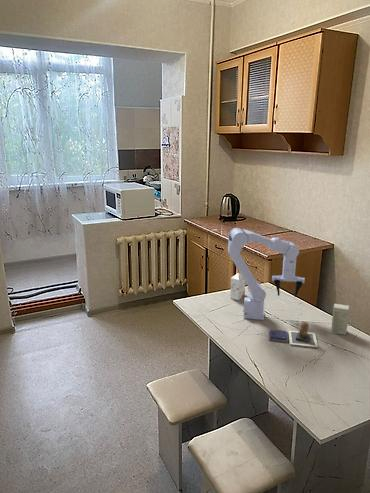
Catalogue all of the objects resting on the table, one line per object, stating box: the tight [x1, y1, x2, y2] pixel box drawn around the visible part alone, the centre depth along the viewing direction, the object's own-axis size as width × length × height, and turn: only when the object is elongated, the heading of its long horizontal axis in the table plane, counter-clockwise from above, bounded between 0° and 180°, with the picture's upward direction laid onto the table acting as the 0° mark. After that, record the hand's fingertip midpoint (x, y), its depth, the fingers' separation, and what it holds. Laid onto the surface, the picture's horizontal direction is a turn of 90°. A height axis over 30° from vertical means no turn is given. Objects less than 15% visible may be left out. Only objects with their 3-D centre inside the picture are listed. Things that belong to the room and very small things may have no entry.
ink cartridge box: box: [230, 272, 246, 301], centre depth 196 cm, size 9×5×15 cm, turn 148°
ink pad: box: [267, 329, 289, 344], centre depth 158 cm, size 8×7×2 cm
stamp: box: [296, 321, 310, 343], centre depth 155 cm, size 5×5×7 cm
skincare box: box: [330, 303, 350, 336], centre depth 161 cm, size 6×4×12 cm
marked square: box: [287, 330, 319, 349], centre depth 156 cm, size 11×11×1 cm
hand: (286, 295), depth 175 cm, fingers open, 7 cm apart
